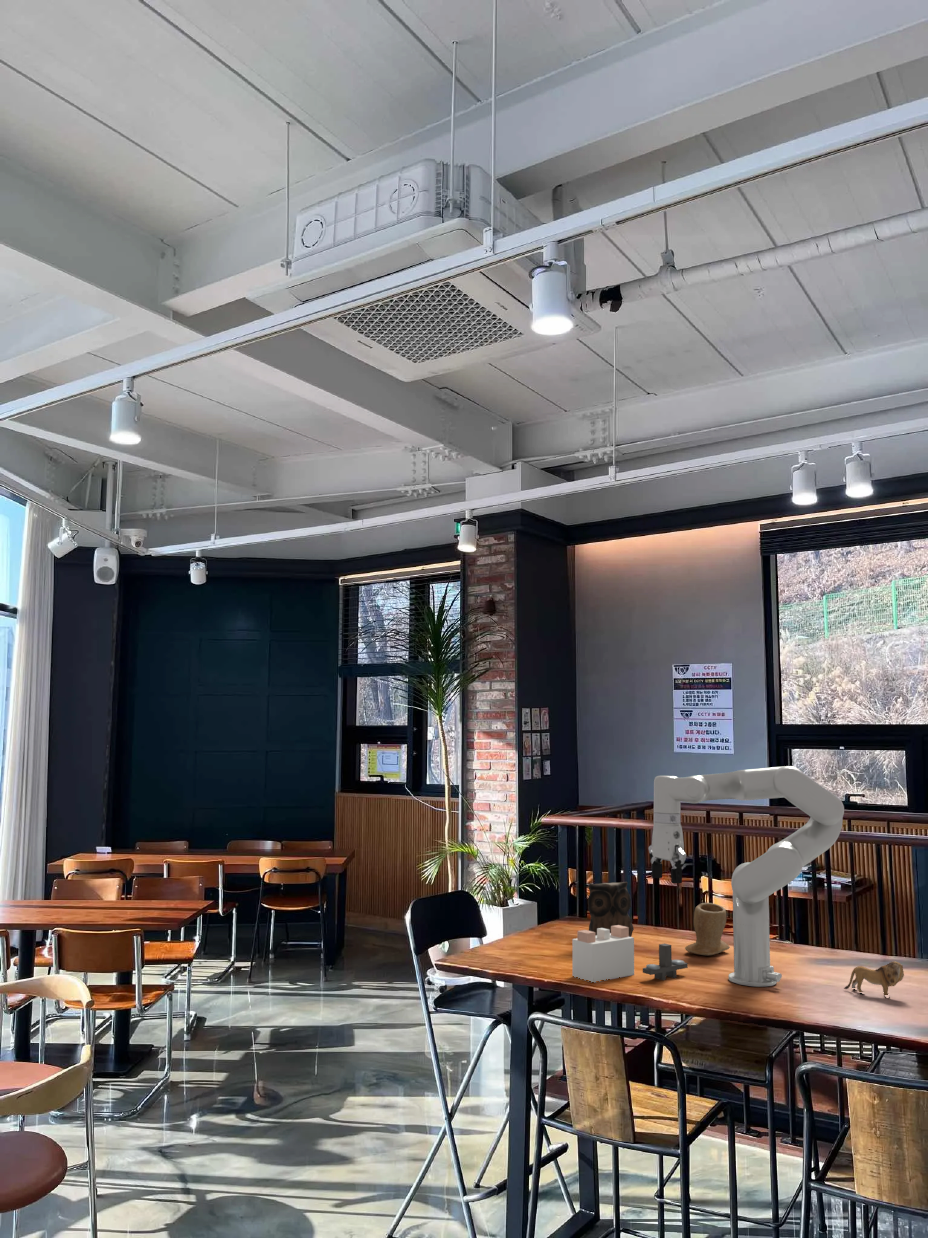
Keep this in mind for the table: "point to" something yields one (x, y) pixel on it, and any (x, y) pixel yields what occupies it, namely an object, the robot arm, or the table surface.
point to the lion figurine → (878, 976)
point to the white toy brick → (603, 954)
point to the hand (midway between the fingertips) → (666, 880)
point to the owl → (609, 906)
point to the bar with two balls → (665, 964)
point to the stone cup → (708, 929)
